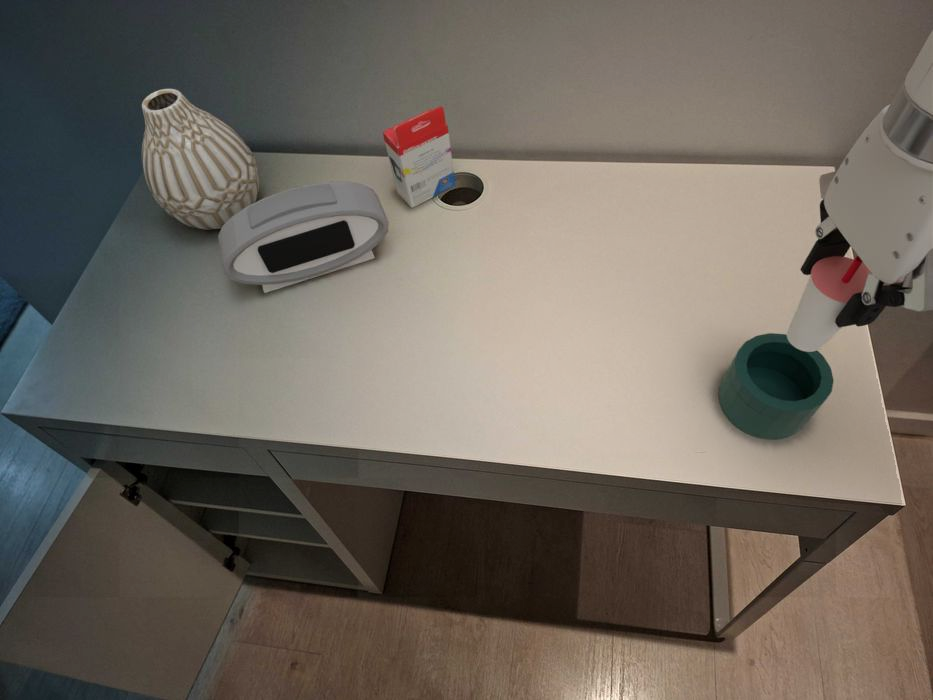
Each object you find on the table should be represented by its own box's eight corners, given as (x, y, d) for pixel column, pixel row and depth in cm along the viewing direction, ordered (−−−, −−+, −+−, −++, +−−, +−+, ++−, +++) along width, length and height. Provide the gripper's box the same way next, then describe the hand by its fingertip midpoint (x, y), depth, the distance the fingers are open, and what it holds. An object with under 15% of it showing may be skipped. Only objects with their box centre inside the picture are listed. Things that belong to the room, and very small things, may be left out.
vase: (262, 166, 102) (211, 54, 86) (280, 226, 94) (227, 114, 77) (170, 195, 100) (99, 86, 84) (180, 259, 91) (103, 151, 75)
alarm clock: (243, 304, 85) (203, 241, 75) (238, 274, 89) (198, 210, 78) (397, 255, 88) (379, 188, 77) (386, 228, 91) (368, 160, 81)
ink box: (440, 170, 98) (428, 88, 86) (456, 186, 95) (446, 104, 83) (395, 193, 96) (376, 112, 83) (411, 210, 93) (393, 129, 81)
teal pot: (783, 359, 73) (805, 326, 67) (823, 430, 67) (851, 400, 62) (705, 374, 73) (720, 342, 67) (739, 447, 67) (759, 418, 61)
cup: (804, 369, 57) (862, 289, 47) (764, 329, 60) (811, 246, 50) (847, 345, 58) (912, 262, 48) (805, 308, 61) (859, 222, 51)
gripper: (1111, 197, 34) (931, 366, 49) (929, 40, 43) (826, 222, 58) (984, 221, 34) (843, 383, 49) (830, 58, 43) (752, 236, 58)
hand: (835, 294), depth 53 cm, fingers closed on cup, 5 cm apart
